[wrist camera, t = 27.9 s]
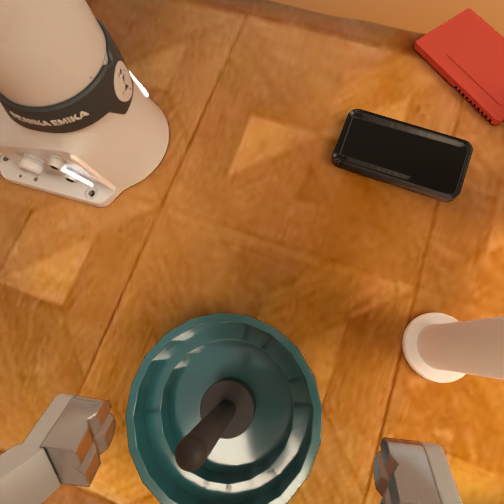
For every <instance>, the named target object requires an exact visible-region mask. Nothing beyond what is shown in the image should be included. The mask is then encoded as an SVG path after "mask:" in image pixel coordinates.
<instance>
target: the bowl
mask: <svg viewBox="0 0 504 504" xmlns="http://www.w3.org/2000/svg"><path fill="white" fill-rule="evenodd" d="M230 377H231V378H238V379H240V380H242V381H244V382H245V383H247V384H248V385H249V387H250V388H251V389H252V391H253V393H254V396H255V401H256V408H255V413H254V416H253V419H252V421H251V424H250V425H249V427H248V428H247V430H246V431H245V432H244V433H242V434H241V435H239V436H237V437H235V438H231V439H223V438H219V440H218V442H217V443H216V445H215V446H214V448H213V450H212V451H211V453H210V454H209V456H208V458H207V459H206V461H205V462H204V464H203V465H202V466H201V467H200V468H199V469H198V470H196V471H192V472H187V471H184V470H182V469H181V468H180V467H179V466H178V465H177V463H176V459H175V451H176V448H177V445H178V444H179V442H180V441H181V440H182V439H183V438H184V437H185V436H186V435H187V434H188V433H189V432H190V431H191V430H192V429H193V428H194V427H195V426H196V425H197V424H198V423H199V422H200V421H201V420H202V419H201V416H200V404H201V400H202V397H203V395H204V393H205V392H206V390H207V389H208V388H209V387H210V386H212V385H213V384H214V383H216V382H218V381H219V380H221V379H224V378H230ZM321 425H322V405H321V401H320V397H319V393H318V389H317V385H316V380H315V377H314V374H313V373H312V371H311V369H310V368H309V366H308V364H307V363H306V361H305V359H304V357H303V356H302V354H301V352H300V351H299V349H298V348H297V347H296V346H295V345H294V344H293V343H292V342H291V341H289V340H288V339H287V338H286V337H285V336H284V335H283V334H282V333H281V332H280V331H278V330H277V329H276V328H275V327H273V326H271V325H268V324H266V323H264V322H262V321H260V320H257V319H255V318H253V317H251V316H248V315H239V314H229V313H215V314H210V315H206V316H201V317H197V318H192V319H190V320H188V321H187V322H185V323H183V324H181V325H180V326H178V327H176V328H174V329H173V330H171V331H169V332H168V333H166V334H165V335H164V336H163V337H162V338H161V339H160V340H159V342H158V343H157V344H156V345H155V346H154V347H153V348H152V349H151V350H150V351H149V352H148V353H147V355H146V356H145V357H144V359H143V361H142V363H141V365H140V367H139V369H138V371H137V374H136V376H135V378H134V380H133V382H132V385H131V388H130V394H129V400H128V405H127V411H126V427H127V437H128V447H129V452H130V454H131V456H132V459H133V461H134V464H135V466H136V468H137V471H138V473H139V475H140V478H141V480H142V482H143V483H144V484H145V486H146V487H147V488H148V489H149V490H150V491H151V493H152V494H153V495H154V496H155V497H156V498H157V500H158V501H159V502H160V503H161V504H286V503H288V501H289V500H290V499H291V498H292V496H293V495H294V494H295V493H296V491H297V490H298V489H299V487H300V486H301V485H302V484H303V482H304V481H305V480H306V479H307V477H308V475H309V473H310V470H311V468H312V465H313V462H314V460H315V457H316V454H317V451H318V449H319V446H320V443H321Z"/></svg>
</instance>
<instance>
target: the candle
mask: <svg viewBox="0 0 504 504" xmlns="http://www.w3.org/2000/svg"><path fill="white" fill-rule="evenodd" d="M402 347H403V352H404V356H405V358H406V360H407V362H408V364H409V365H410V366H411V368H412V369H413V370H414V371H415V372H416V373H417V374H419V375H420V376H422V377H423V378H425V379H428V380H430V381H434V382H439V383H449V382H453V381H456V380H458V379H460V378H462V377H463V376H464V375H465V374H471V375H477V376H483V377H490V378H496V379H502V380H504V316H502V317H494V318H485V319H477V320H469V321H461V322H459V321H458V320H457V319H455V318H454V317H452V316H449V315H447V314H443V313H437V312H432V313H426V314H422V315H420V316H418V317H416V318H415V319H413V320H412V321H411V322H410V323H409V324H408V326H407V327H406V329H405V331H404V334H403V339H402Z"/></svg>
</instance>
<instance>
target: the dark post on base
mask: <svg viewBox="0 0 504 504" xmlns="http://www.w3.org/2000/svg"><path fill="white" fill-rule="evenodd" d="M255 408H256V401H255V396H254V393H253V391H252V389H251V388H250V387H249V385H248V384H247V383H245V382H244V381H242V380H240V379H238V378H231V377H230V378H224V379H221V380H219V381H218V382H216V383H214V384H213V385H212V386H210V387H209V388H208V389H207V390H206V392H205V393H204V395H203V397H202V400H201V404H200V416H201V419H202V420H201V421H200V422H199V423H198V424H197V425H196V426H195V427H194V428H193V429H192V430H191V431H190V432H189V433H188V434H187V435H186V436H185V437H184V438H183V439H182V440H181V441H180V442H179V444H178V445H177V448H176V451H175V459H176V463H177V465H178V466H179V467H180V468H181V469H182V470H184V471H187V472H192V471H196V470H198V469H199V468H200V467H201V466H202V465H203V464H204V462H205V461H206V459H207V458H208V456H209V454H210V453H211V451H212V450H213V448H214V446H215V445H216V443H217V442H218V440H219V438H223V439H231V438H235V437H237V436H239V435H241V434H242V433H244V432H245V431H246V430H247V428H248V427H249V425H250V424H251V421H252V419H253V416H254V413H255Z"/></svg>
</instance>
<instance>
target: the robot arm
mask: <svg viewBox="0 0 504 504" xmlns="http://www.w3.org/2000/svg"><path fill="white" fill-rule="evenodd" d="M148 96H149V95H148V93H147V91H146V89H145V88H144V87H143V86H142V85H141V84H140V83H139V82H138V80H137V79H136V78H135V77H134V76H133V75H132V74H131V72H130V71H129V70H128V68H127V66H126V63H125V61H124V59H123V57H122V55H121V53H120V51H119V50H118V48H117V46H116V44H115V43H114V41H113V39H112V38H111V36H110V34H109V32H108V31H107V29H106V28H105V26H104V25H103V24H102V22H101V21H100V20H99V19H97V18H96V17H95V16H94V15H93V13H92V11H91V9H90V8H89V6H88V4H87V2H86V0H0V171H1V174H2V176H3V177H4V178H5V179H6V180H7V181H9V182H12V183H15V184H19V185H22V186H26V187H29V188H33V189H36V190H40V191H44V192H47V193H51V194H54V195H58V196H61V197H65V198H68V199H72V200H75V201H79V202H82V203H86V204H90V205H93V206H97V207H106V206H108V205H109V204H110V203H112V202H113V201H114V200H115V199H116V198H117V197H118V195H119V194H120V193H121V192H122V191H124V190H125V189H127V188H129V187H131V186H133V185H135V184H137V183H138V182H140V181H142V180H143V179H145V178H146V177H147V176H148V175H150V174H151V173H152V172H153V171H154V170H155V169H156V167H157V166H158V165H159V163H160V162H161V160H162V159H163V157H164V155H165V152H166V150H167V147H168V142H169V127H168V123H167V120H166V117H165V115H164V113H163V112H162V110H161V109H160V108H159V107H158V106H157V105H156V104H155V103H154V102H153V101H152V100H151V99H150V98H149V97H148ZM8 159H9V160H8ZM7 160H8V161H7ZM93 193H95V195H94V196H92V194H93ZM91 196H92V197H91ZM110 409H111V404H110V401H109V400H105V399H98V398H91V397H83V396H78V395H71V394H63V393H60V394H58V395H57V396H56V397H55V398H54V399H53V400H52V402H51V403H50V405H49V406H48V407H47V409H46V410H45V412H44V413H43V414H42V416H41V417H40V419H39V420H38V422H37V423H36V424H35V426H34V427H33V429H32V430H31V431H30V433H29V434H28V436H27V437H26V439H25V440H24V441H23V443H22V444H21V445H20V444H16V445H14V446H13V447H11V448H10V449H8V450H7V451H5V452H4V453H2V454H1V455H0V504H42V503H43V502H44V501H45V500H46V499H47V498H48V497H49V496H50V495H51V494H52V493H54V492H55V491H56V490H57V489H58V488H59V487H60V486H61V484H69V485H77V486H84V487H89V486H90V484H91V482H92V480H93V478H94V476H95V474H96V472H97V470H98V468H99V466H100V464H101V462H100V456H99V455H100V454H101V453H103V452H104V451H105V450H106V449H108V447H109V445H110V443H111V441H112V438H113V435H114V431H115V418H114V415H112V414H111V413H110V412H109V411H110ZM380 446H381V451H379V452H377V453H376V456H375V460H374V480H375V486H376V489H377V491H378V492H379V493H380V495H381V496H382V500H381V502H380V504H462V501H461V498H460V495H459V492H458V489H457V486H456V484H455V481H454V478H453V475H452V472H451V469H450V466H449V464H448V461H447V458H446V455H445V452H444V450H443V448H442V447H441V446H440V445H438V444H433V443H425V442H419V441H412V440H403V439H395V438H386V437H384V438H383V439H382V441H381V443H380ZM60 483H61V484H60Z"/></svg>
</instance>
